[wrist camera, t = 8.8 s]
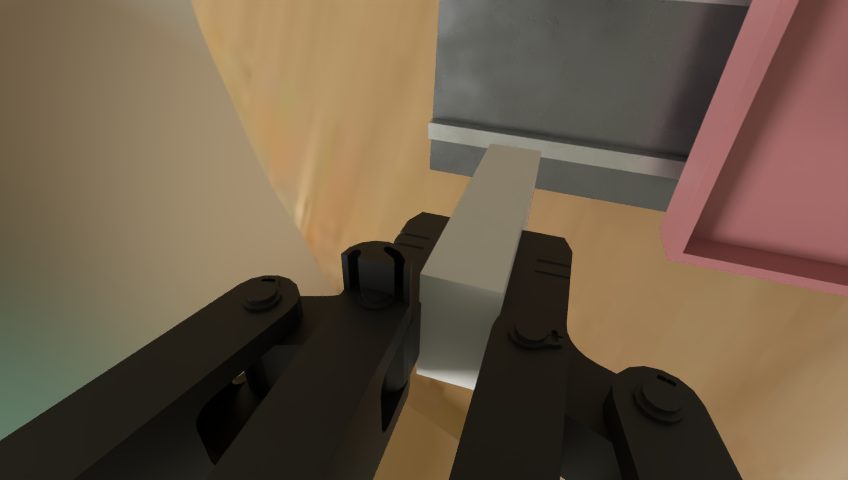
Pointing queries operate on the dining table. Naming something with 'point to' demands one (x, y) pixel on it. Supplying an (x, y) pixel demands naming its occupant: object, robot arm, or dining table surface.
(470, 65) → the track
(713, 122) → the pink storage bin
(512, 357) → the robot arm
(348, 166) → the dining table surface
